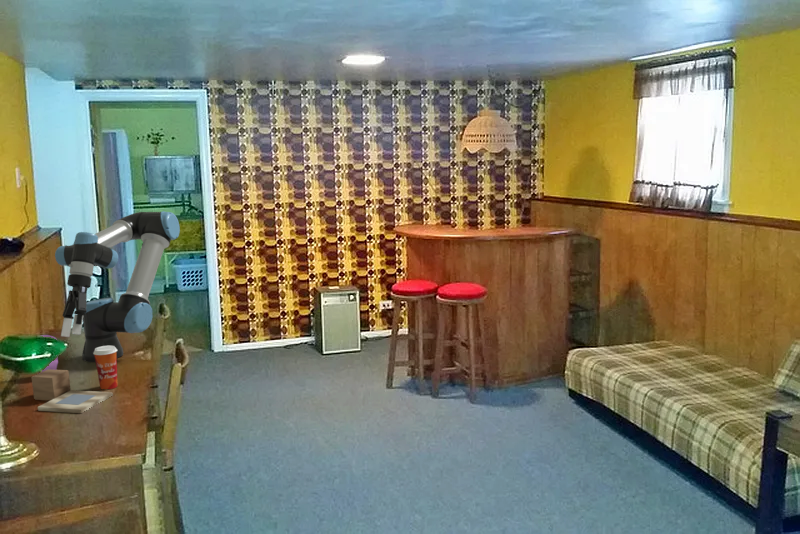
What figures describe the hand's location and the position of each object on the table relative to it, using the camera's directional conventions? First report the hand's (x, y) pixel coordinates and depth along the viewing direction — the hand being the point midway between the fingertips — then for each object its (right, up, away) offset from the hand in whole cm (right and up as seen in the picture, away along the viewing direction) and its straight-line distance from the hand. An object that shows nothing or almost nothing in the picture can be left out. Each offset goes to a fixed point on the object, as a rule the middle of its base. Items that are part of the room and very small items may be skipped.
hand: (70, 335), depth 252 cm
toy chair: (-15, -17, +15) cm, 27 cm away
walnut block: (-3, -20, -7) cm, 21 cm away
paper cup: (+13, -18, 0) cm, 23 cm away
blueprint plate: (+9, -21, -15) cm, 27 cm away
